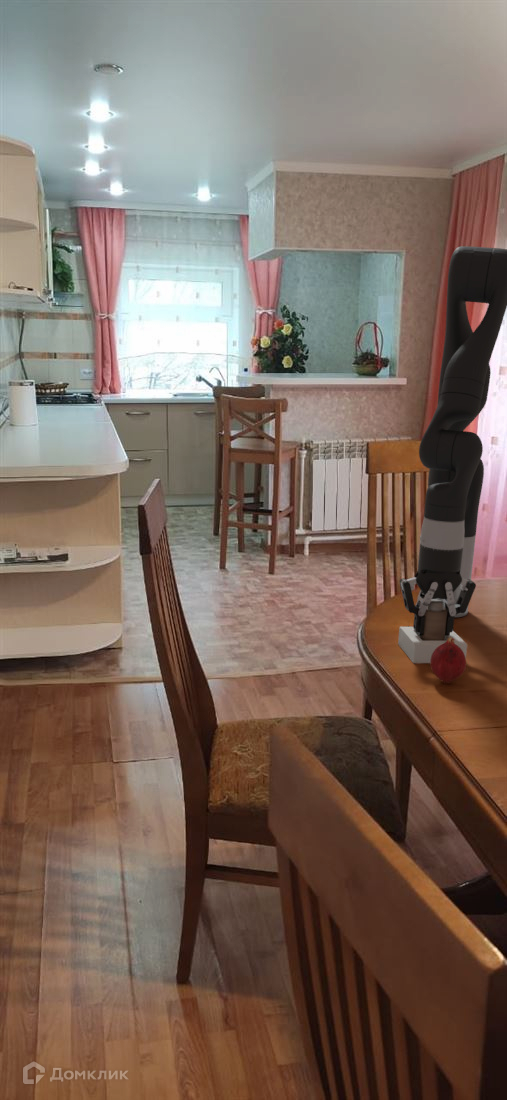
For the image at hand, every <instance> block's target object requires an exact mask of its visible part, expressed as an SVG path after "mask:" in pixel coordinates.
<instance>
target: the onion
mask: <svg viewBox="0 0 507 1100" xmlns="http://www.w3.org/2000/svg"><path fill="white" fill-rule="evenodd" d="M466 667H467V657H466V658H465V655H464V653H463V651H462V650H461V648H460V647H459V646H457V645H456V644H455V643H454V639H453V638H452V637H450V638H448V640H447V641H446V642H445V643H444V644H442V645H440V646H438V647H437V648H436V649H435V650H434V652H433V653H432V656H431V663H430V669H431V671H432V673H433V674H434V675H435V676H436V678H438V680H439V681H441V682H442V683H444V684H450V683H451V682H454V681H455V680H457V679H459V677H461V676H462V675H463V673H464V672H465V671H466Z"/></svg>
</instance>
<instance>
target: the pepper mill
mask: <svg viewBox="0 0 507 1100" xmlns="http://www.w3.org/2000/svg"><path fill="white" fill-rule="evenodd" d="M424 616H425V622H424V633H423V635H420V638H421V639H422V641H445V631H446V621H447V609H446V608H443V601H441V600H437V599H432V600H431V602H430V604H429V605H428V606H427V609H426V611H425V614H424Z"/></svg>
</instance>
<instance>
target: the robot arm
mask: <svg viewBox="0 0 507 1100" xmlns="http://www.w3.org/2000/svg"><path fill="white" fill-rule="evenodd" d="M452 252H453V253H452V254H451V257H450V260H449V266H448V272H447V273H448V274H447V289H446V312H445V313H446V315H445V317H446V318H445V335H444V344H443V352H442V359H441V367H440V372H439V373H440V374H439V375H440V376H439V383H438V395H437V407H436V409H435V411H434V414H433V416H432V417H431V420H430V423H429V424H428V426H427V428H426V430H425V431H424V433H423V436H422V438H421V439H420V443H419V447H418V455H419V460H420V462H421V464H422V465H423V467H425V468H427V469H429V470H428V478H427V479H428V480H427V490H426V492H425V499H424V500H425V502H424V512H423V514H424V515H423V521H422V525H421V529H420V536H419V551H418V563H417V571H416V573H415V574H414V577H411V578H408V579H406V578H401V579H400V580H399V585H400V589H401V593H402V600H403V604H404V608H405V609H406V610H407V611H408V612H409V613H410V614H414V615H413V618H414V619H413V626H412V627H413V628H414V630H415V631H416V633H417V634H418V635H423V633H424V622H425V616H424V614H425V611H426V609H427V606H428V605H429V604H430V602H431V600H432V599H437V600H441V601H443V608H446V609H447V621H446V631H445V635H450V632H452V631H454V624H455V618H461V617H465V616H467V615H468V610H469V605H470V602H471V599H472V597H473V594H474V592H475V590H476V587H477V585H476V583H475V582H474V581H473V580H472V575H473V573H472V572H473V565H474V557H475V545H476V544H475V543H476V536H477V525H478V517H479V516H478V515H479V507H480V502H481V495H482V489H483V484H484V475H485V473H484V472H485V468H484V466H485V465H484V462H483V460H482V455H483V452H484V450H483V447H484V446H483V443H482V440H481V437H480V436H479V435H478V434H477V433H476V432H472V431H466V428H468V427H469V426H470V424H471V423H473V422H474V420H475V419H476V418H477V417H478V415H480V413H481V412H482V410H483V409H484V408H485V406H486V403H487V401H488V395H489V387H490V380H491V379H490V378H491V365H490V361H491V358H492V354H493V351H494V348H495V345H496V343H497V339H498V336H499V334H500V330H501V327H502V323H503V321H504V317H505V314H506V310H507V249H506V248H498V247H483V246H466V245H464V246H463V245H462V246H458V247H456V249H454V251H452ZM469 302H470V303H479V304H480V303H481V304H488V305H487V309H486V311H485V314H484V316H483V318H482V320H481V321H480V323H479V324H478V326H477V327H476V329H475V330H474V331H473V329H472V326H471V324H470V319H469V316H468V312H467V311H468V310H467V303H469ZM415 585H417V586H418V588H419V592H418V595H417V599H416V600H417V601H416V603H415V601H414V597H413V596H414V595H413V591H414V590H415Z"/></svg>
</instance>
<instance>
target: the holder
mask: <svg viewBox="0 0 507 1100" xmlns="http://www.w3.org/2000/svg"><path fill="white" fill-rule="evenodd" d="M398 630H399V631H398V641H397V645H398V646H399V647H400V649H402V651H403V652H404V653H405V655H406V656H407V657H408V658H409V659H410V661H411V662H412V664H431V656H432V653H433V652H434V650H435V649H436V648H437V647H438V646H440V645H442V644H444V643H445V642H446V641H447V640H448V638H450V637H452V638H453V639H454V643H455V644H456V645H457V646H459V647H460V648H461V650H462V651H463V653H464V655H465V658H466V659H467V651H468V643H466V641H464V640H463V638H462V637H461V636H459V635H458V634H457V633H456V632H455V631H454V630H453V631H452V632H450V635H445V641H422V639H421V638H420V635H418V634H417V633H416V631H415V630H414V628H413V626H399V628H398Z"/></svg>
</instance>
